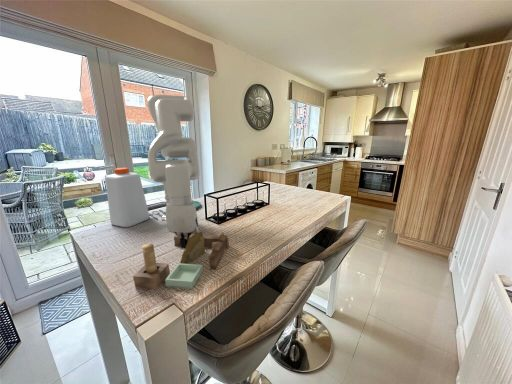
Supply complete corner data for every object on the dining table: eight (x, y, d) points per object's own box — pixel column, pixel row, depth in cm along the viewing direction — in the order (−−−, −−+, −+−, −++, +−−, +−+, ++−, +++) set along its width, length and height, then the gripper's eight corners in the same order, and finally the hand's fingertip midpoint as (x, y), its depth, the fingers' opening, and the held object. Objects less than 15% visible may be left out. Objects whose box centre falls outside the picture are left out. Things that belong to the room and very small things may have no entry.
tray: (166, 286, 62) (165, 279, 62) (179, 269, 70) (178, 263, 70) (192, 289, 61) (191, 281, 61) (203, 271, 69) (202, 264, 69)
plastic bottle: (126, 229, 102) (115, 171, 94) (107, 224, 108) (95, 169, 100) (153, 218, 115) (145, 167, 107) (134, 214, 121) (126, 165, 114)
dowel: (145, 283, 64) (139, 248, 61) (151, 277, 67) (146, 243, 64) (155, 284, 63) (149, 248, 60) (160, 278, 66) (155, 243, 63)
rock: (181, 266, 68) (210, 253, 73) (173, 241, 70) (202, 230, 75) (181, 268, 78) (206, 257, 82) (173, 247, 80) (199, 237, 84)
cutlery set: (206, 207, 131) (206, 204, 130) (157, 222, 110) (156, 218, 110) (191, 201, 144) (190, 198, 144) (144, 213, 124) (143, 210, 124)
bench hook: (155, 265, 73) (152, 246, 71) (177, 243, 88) (175, 226, 86) (217, 269, 70) (215, 249, 68) (228, 246, 85) (228, 229, 83)
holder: (135, 287, 62) (133, 276, 61) (149, 272, 69) (148, 262, 68) (157, 289, 61) (155, 277, 60) (170, 274, 68) (168, 263, 67)
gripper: (153, 202, 70) (160, 251, 75) (197, 204, 68) (201, 253, 73) (165, 195, 77) (171, 240, 82) (205, 196, 75) (208, 242, 80)
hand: (185, 246), depth 78 cm, fingers closed
